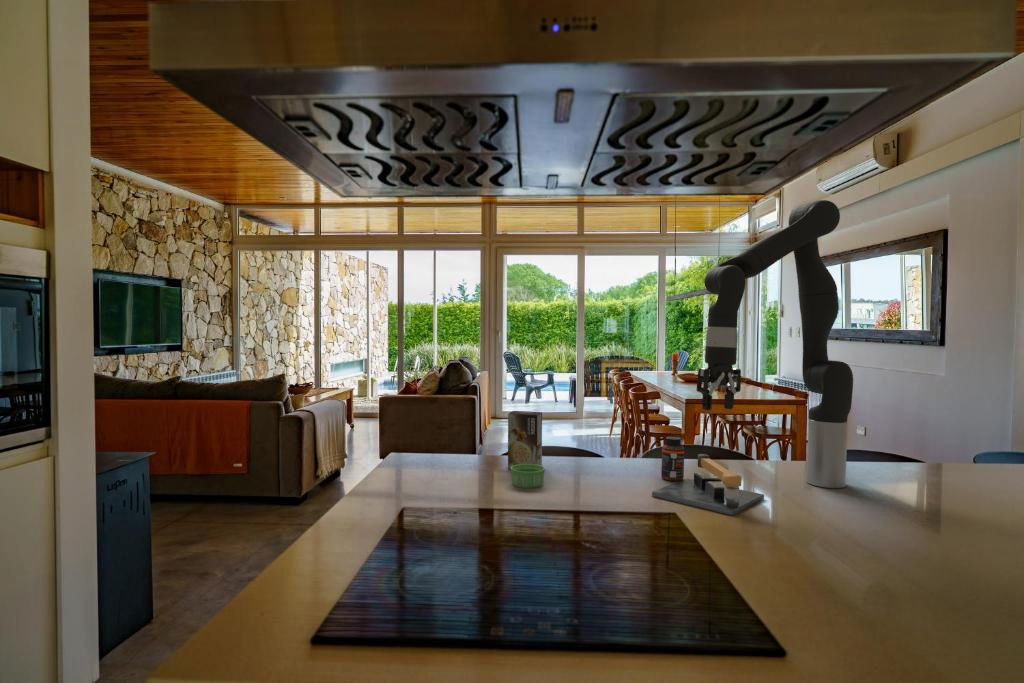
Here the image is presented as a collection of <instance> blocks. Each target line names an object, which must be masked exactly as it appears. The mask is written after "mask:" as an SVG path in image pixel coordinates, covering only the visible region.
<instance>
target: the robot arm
mask: <svg viewBox="0 0 1024 683" xmlns="http://www.w3.org/2000/svg"><path fill="white" fill-rule="evenodd" d="M840 221H841V213H840V210H839V208H838V206H837V205H836V204H835V203H834V202H833V201H831V200H826V199H822V200H814V201H812V202H808V203H803V204H799V205H798V206H796V207H794V208H792V210H791V211H790V213H789V216H788V226H787V227H786V226H785V228H782V229H781V230H779V231H777V232H775V233H772V234H771V235H768V236H766V237H764V238H762V239H760V240H759V241H757V242H755V243H753V244H752V245H750V246H749V247H747V248H746V249H744V250H743V251H741V252H740V253H739V254H737V255H735V256H733V257H732V258H729V259H727V260H725V261H723V262H721V263H719V264H717V265H715V266H714V267H712V268H711V269H710V270H708V272H707V274H706V275H705V278H704V287H705V289H706V290H707V291H708V292H709V293H710V294H713V295H715V296H716V295H717V300H716V301H715V302H714V304H711V305H710V306H709V308H708V314H707V330H706V335H705V352H704V362H705V363H706V364H707V367H705V368H704V367H699V368H697V369H698V370H697V378H696V379H697V380H696V392H698V393H701V395H702V402H701V405H702V406H701V407H702V409H703V410H704V411H712V407H713V406H712V404H713V395H712V394H713V393H714V391H715V390H716V389H717V388H718V387H720V388H721V387H722V388H723V391H724V392H725V394H724V398H723V399H724V400H723V407H724V409H725V410H734V403H735V395H736V393H740V392H741V387H742V386H741V385H742V380H741V379H742V374H741V373H742V371H741V369H740V368H737V367H736V368H735V367H733V366H735V365H736V364H737V356H738V314H739V313H738V311H739V308H740V306H741V305H742V304H741V302H742V299H743V297H744V293H745V289H746V281H747V279H751V278H753V277H755V276H758V275H760V274H761V273H762V272H764V271H765V270H767V269H769V267H771V266H772V265H773V264H775V263H777V262H778V261H780V260H781V259H783V258H784V257H786V256H788V255H789V254H791V253H793V255H794V263H795V271H796V278H797V288H798V302H799V311H800V318H801V334H802V335H801V336H802V369H801V370H802V371H801V372H802V381H803V384H804V386H805V388H807V390H809V391H810V392H811V393H814V394H820V395H821V401H820V403H819V404H817V405H816V406H813V407H810V408H809V409H808V415H807V418H808V420H807V425H808V426H807V453H806V454H807V455H806V456H807V457H806V458H807V459H806V483H808V484H810V485H813V486H816V487H821V488H827V489H842V488H845V487H846V481H847V480H846V479H847V478H846V477H847V475H846V474H847V449H848V446H847V444H848V441H847V440H848V417H849V414H850V412H851V410H852V404H853V403H852V401H853V400H852V399H853V392H854V390H853V389H854V375H853V374H854V373H853V371H852V369H851V367H850V365H849V364H847V363H846V362H844V361H840V360H829V357H828V356H829V355H828V354H829V353H828V340H829V336H830V334H831V331H832V328H833V326H834V324H835V322H836V319H837V317H838V315H839V309H840V306H839V305H840V304H839V296H838V286H837V283H836V281H835V278H834V277H833V276H832V274H831V272H830V270H829V269H828V268H827V267H826V265H825V263H824V261H823V260H822V258H821V255H820V250H819V243H818V239H820V238H822V237H824V236H827V235H829V234H831V233H832V232H833V231H834V230H836V228H837V227H838V225H839V223H840ZM702 384H703V387H702Z"/></svg>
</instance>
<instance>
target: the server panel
mask: <svg viewBox="0 0 1024 683" xmlns="http://www.w3.org/2000/svg"><path fill="white" fill-rule="evenodd" d="M651 497H653V498H658V499H660V500H661V499H662V500H666V501H670V502H675V503H679V504H683V505H687V506H691V507H695V508H700V509H703V510H708V511H712V512H715V513H721V514H724V515H728V516H734V515H736V514H738V513H740V512H742V511H744V510H746V509H748V508H749V507H752V506H754V505H756V504H757V503H759V502H762V501H763V500H765V494H763V493H760V492H759V493H758V492H754V491H749V490H744V489H740V486H739V487H731V486H726V485H723V481H722V480H721V479H719V478H718V477H716V476H715V475H713V474H712V473H711V472H695V473H694V472H693V479H692V478H691V479H690V478H686V479H683V480H681V481H676V482H675V483H671V484H669V485H667V486H663V487H661V488H657V489H655V490H652V492H651Z"/></svg>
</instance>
